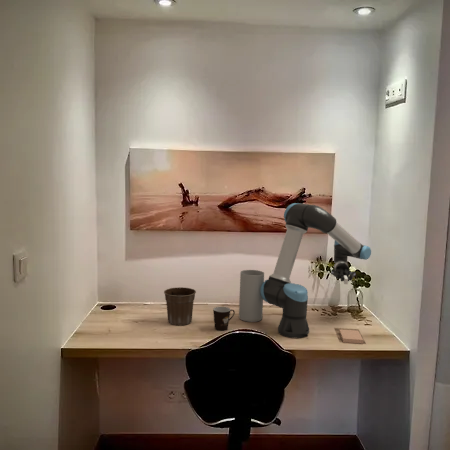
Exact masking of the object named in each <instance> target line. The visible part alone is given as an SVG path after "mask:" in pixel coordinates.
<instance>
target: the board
mask: <svg viewBox="0 0 450 450" xmlns="http://www.w3.org/2000/svg"><path fill="white" fill-rule="evenodd" d="M333 329H334V331H335V333H336V336H337V337H336V338H337V339H338V342H339V343H344V342H343V341H342V339H341V336H340V334H339V329H342V330H356V331H359V333H360V335H361V337H362V339H363V344H364V345H367V343H366V340H365V338H364V336H363V335H362V333H361V331H360V329H358V328H344V327H333ZM359 344H361V343H359ZM361 345H362V344H361Z"/></svg>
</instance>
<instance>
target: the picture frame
mask: <svg viewBox="0 0 450 450" xmlns="http://www.w3.org/2000/svg"><path fill="white" fill-rule="evenodd" d="M359 331H360V330H359ZM359 331H356V330H342V329H339V334H340V336H341V339H342V341H343V342H342V343H348V344H360V343H361V345H362V344H363V339H364V338H363V339H362V337H363V336H362V337H361V335H362V334H361V335H360V333H361V332H360V333H359Z"/></svg>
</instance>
